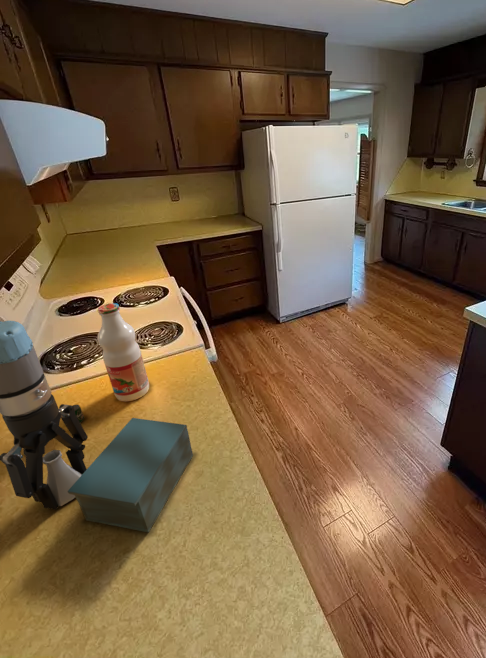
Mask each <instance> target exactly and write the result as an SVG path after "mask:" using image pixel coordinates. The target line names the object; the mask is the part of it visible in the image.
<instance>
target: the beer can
mask: <svg viewBox="0 0 486 658" xmlns="http://www.w3.org/2000/svg"><path fill="white" fill-rule="evenodd" d="M72 406H74V409H75V415H76V417H77V419H78V420H79V422H80V424H82V422H83V421H85V415H84V413H83V410H82V408H81V406H80V405H79V404H73V405H72Z"/></svg>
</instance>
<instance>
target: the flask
mask: <svg viewBox="0 0 486 658" xmlns="http://www.w3.org/2000/svg"><path fill="white" fill-rule="evenodd" d="M62 457H63V454H62V451H61V450H60V449H52V450H51V451H49V452H46V453H45V454H44V455H43V465H46V471H47V476H46V484H48V485H49V487H50V489H51V491H52V493H53V495H54V497H55V499H56V501H57V504H58V506H59V507H62V506H64V505H65V504H67V503H69V502H71V501H72V500H74V499H76V497H75V495H73V494H69V493H68V490H69V489H70V488H71V487H72V486H73V485H74V483H75V482H76V481H77V480H78V479H79V478H80V477H81V475H82V474H81V473H79V472H78V471H76V470H75V469H73V468H72V466H71V465H69V464H68V463H66V461H64V459H63V458H62Z"/></svg>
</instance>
